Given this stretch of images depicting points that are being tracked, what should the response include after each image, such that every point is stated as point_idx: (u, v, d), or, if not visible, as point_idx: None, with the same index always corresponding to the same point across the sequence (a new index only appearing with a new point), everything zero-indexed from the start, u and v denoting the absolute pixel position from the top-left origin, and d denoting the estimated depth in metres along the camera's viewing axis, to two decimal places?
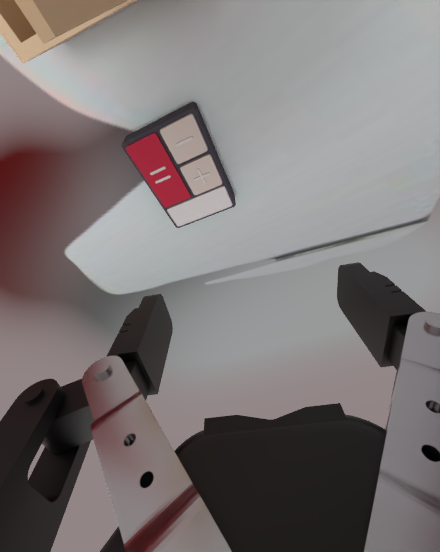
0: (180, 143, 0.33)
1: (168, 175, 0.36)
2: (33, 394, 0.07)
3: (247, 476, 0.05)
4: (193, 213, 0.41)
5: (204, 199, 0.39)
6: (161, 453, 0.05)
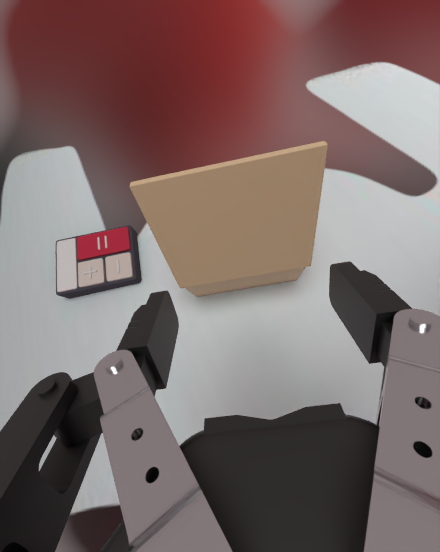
0: (117, 263, 0.46)
1: (100, 248, 0.47)
2: (46, 387, 0.07)
3: (247, 476, 0.05)
4: (63, 257, 0.47)
5: (71, 269, 0.46)
6: (167, 449, 0.05)
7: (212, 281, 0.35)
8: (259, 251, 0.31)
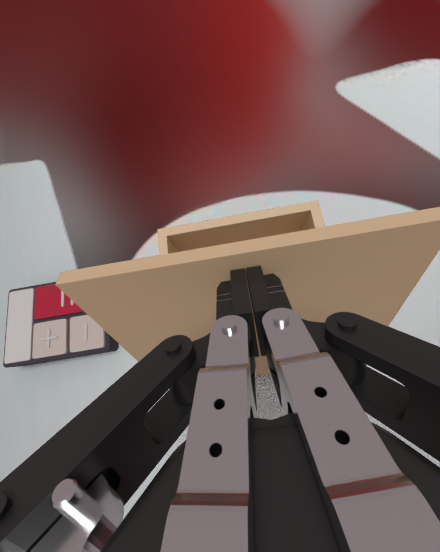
0: (85, 327, 0.34)
1: (64, 304, 0.35)
2: (172, 346, 0.08)
3: None
4: (16, 315, 0.36)
5: (25, 333, 0.35)
6: (236, 437, 0.05)
7: None
8: None
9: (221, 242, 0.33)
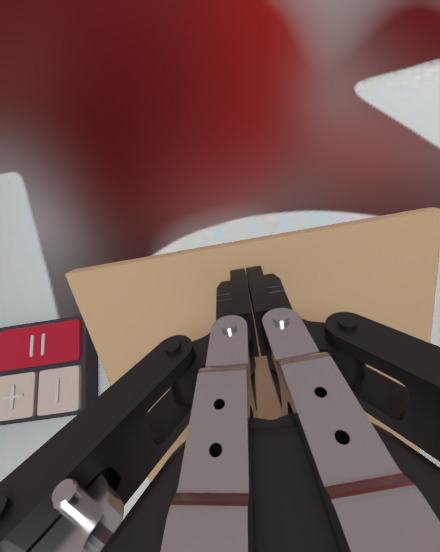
0: (57, 384, 0.28)
1: (33, 354, 0.29)
2: (172, 346, 0.08)
3: None
4: None
5: None
6: (236, 437, 0.05)
7: None
8: None
9: None
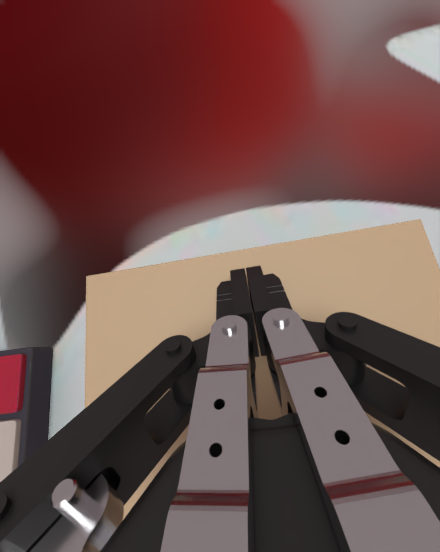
0: None
1: None
2: (172, 346, 0.08)
3: None
4: None
5: None
6: (237, 437, 0.05)
7: None
8: None
9: None
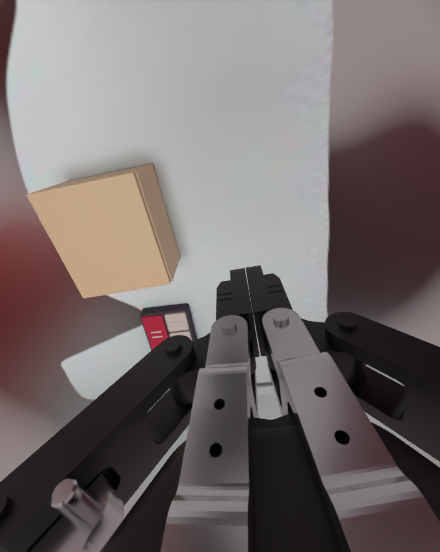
0: (174, 323, 0.57)
1: (161, 335, 0.59)
2: (172, 346, 0.08)
3: None
4: None
5: None
6: (237, 437, 0.05)
7: (160, 259, 0.41)
8: (120, 224, 0.38)
9: None
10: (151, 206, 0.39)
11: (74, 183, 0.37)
